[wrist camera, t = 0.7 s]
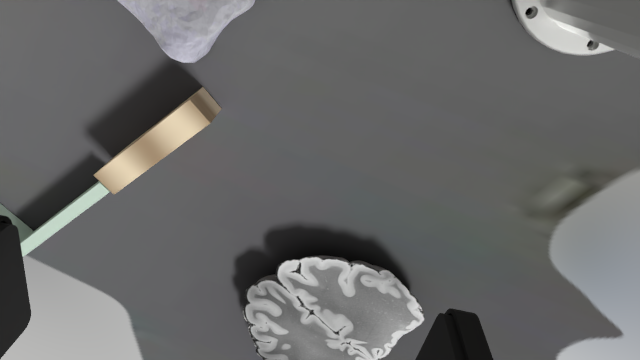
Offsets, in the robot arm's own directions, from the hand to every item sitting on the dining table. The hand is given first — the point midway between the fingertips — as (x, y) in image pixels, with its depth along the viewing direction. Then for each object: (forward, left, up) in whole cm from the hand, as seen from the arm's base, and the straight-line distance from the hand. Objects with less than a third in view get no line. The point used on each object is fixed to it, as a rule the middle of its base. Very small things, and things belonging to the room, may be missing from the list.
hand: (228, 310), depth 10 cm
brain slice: (+16, +23, -29) cm, 40 cm away
